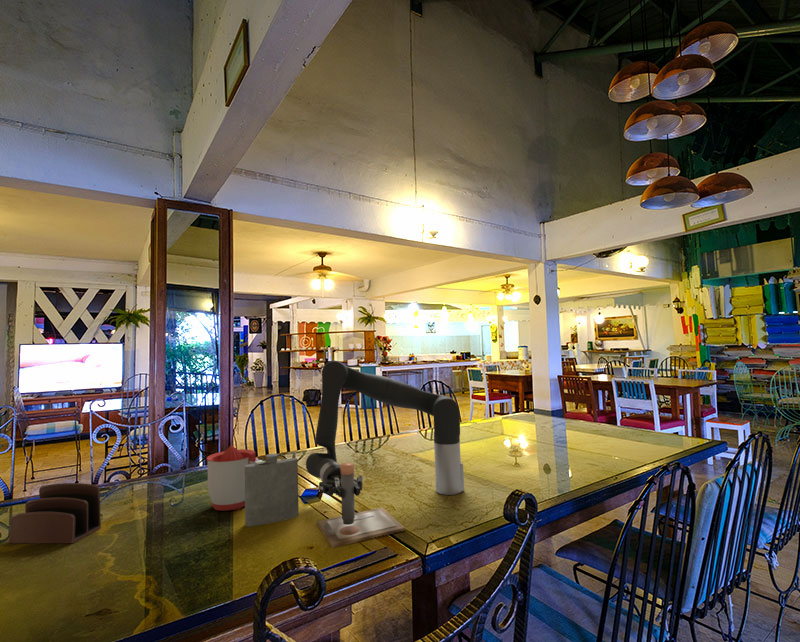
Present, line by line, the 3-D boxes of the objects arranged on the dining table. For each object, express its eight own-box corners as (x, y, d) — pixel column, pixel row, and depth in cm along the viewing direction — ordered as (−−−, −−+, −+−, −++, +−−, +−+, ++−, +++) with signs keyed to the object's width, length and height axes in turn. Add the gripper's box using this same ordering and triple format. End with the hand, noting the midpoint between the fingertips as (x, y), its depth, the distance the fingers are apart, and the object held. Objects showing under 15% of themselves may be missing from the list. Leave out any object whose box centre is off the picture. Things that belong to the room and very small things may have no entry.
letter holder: (41, 529, 129) (41, 482, 130) (101, 529, 127) (101, 481, 128) (8, 544, 119) (9, 493, 120) (73, 544, 117) (74, 493, 118)
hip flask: (297, 512, 134) (296, 449, 135) (300, 517, 130) (298, 452, 131) (244, 523, 127) (243, 456, 128) (246, 528, 123) (245, 459, 125)
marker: (352, 518, 120) (351, 461, 121) (357, 523, 116) (355, 465, 117) (340, 521, 118) (338, 463, 119) (343, 526, 115) (342, 467, 116)
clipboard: (382, 510, 133) (382, 505, 134) (404, 530, 118) (404, 524, 118) (317, 523, 125) (316, 518, 125) (332, 547, 109) (331, 541, 109)
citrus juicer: (251, 513, 135) (250, 450, 136) (197, 515, 135) (197, 452, 136) (267, 496, 150) (266, 439, 152) (219, 497, 151) (219, 441, 152)
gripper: (311, 467, 128) (325, 483, 112) (355, 461, 134) (374, 475, 118) (311, 492, 128) (326, 512, 112) (356, 484, 133) (375, 502, 118)
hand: (350, 493), depth 115 cm, fingers closed on marker, 3 cm apart
